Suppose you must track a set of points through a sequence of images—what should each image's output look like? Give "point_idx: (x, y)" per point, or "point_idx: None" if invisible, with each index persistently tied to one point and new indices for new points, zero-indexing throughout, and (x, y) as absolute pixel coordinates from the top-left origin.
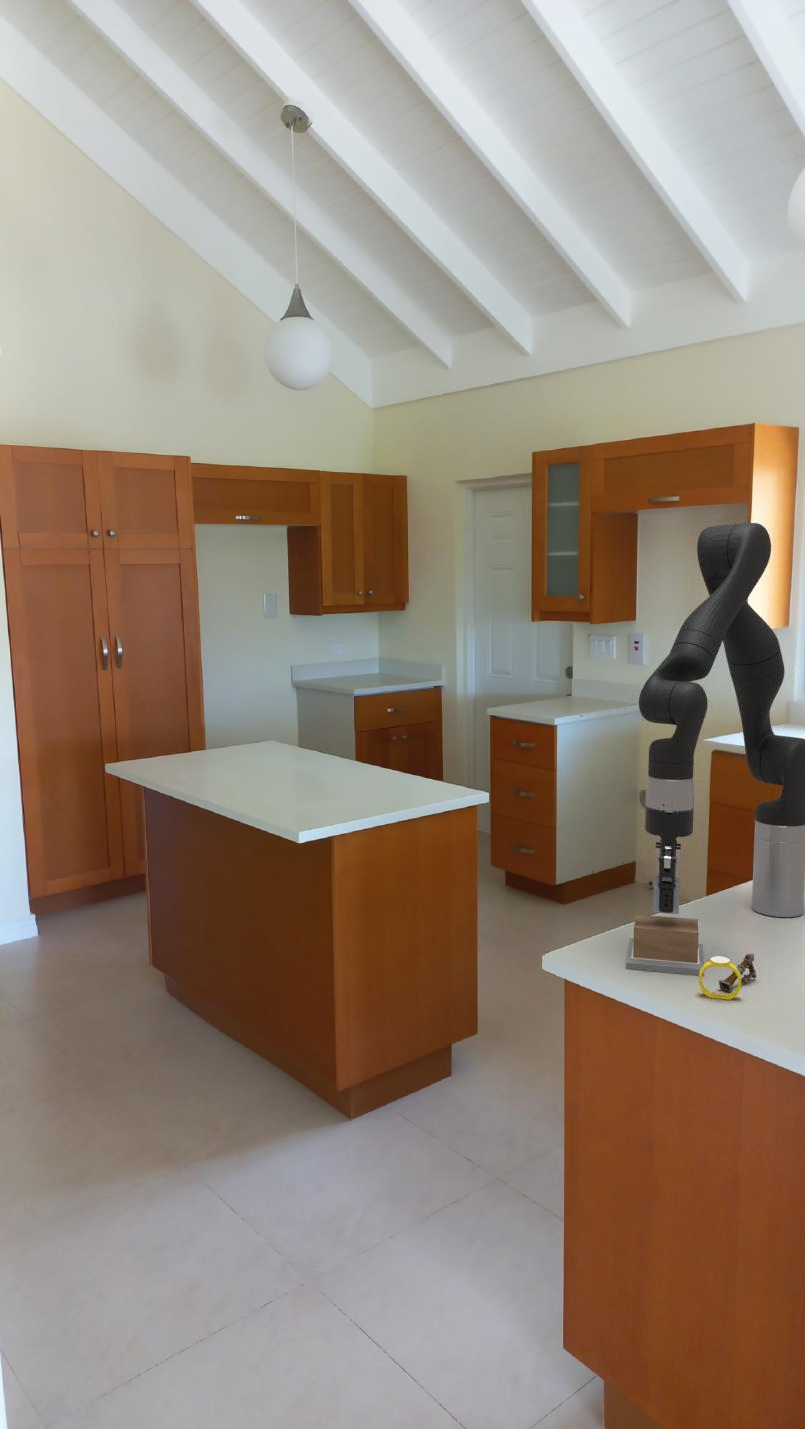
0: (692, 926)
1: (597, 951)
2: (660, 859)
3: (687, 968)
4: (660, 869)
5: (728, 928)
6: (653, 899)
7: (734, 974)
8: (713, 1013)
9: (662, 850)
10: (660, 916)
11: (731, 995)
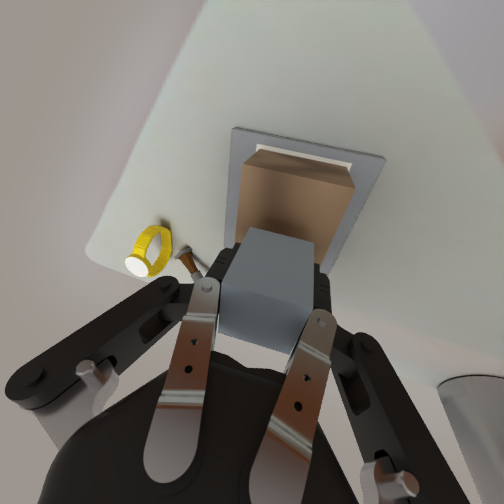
0: None
1: (341, 59)
2: (13, 376)
3: (225, 228)
4: (80, 332)
5: (421, 326)
6: (241, 245)
7: (191, 271)
8: (121, 220)
9: (65, 443)
10: (330, 242)
11: (161, 251)
